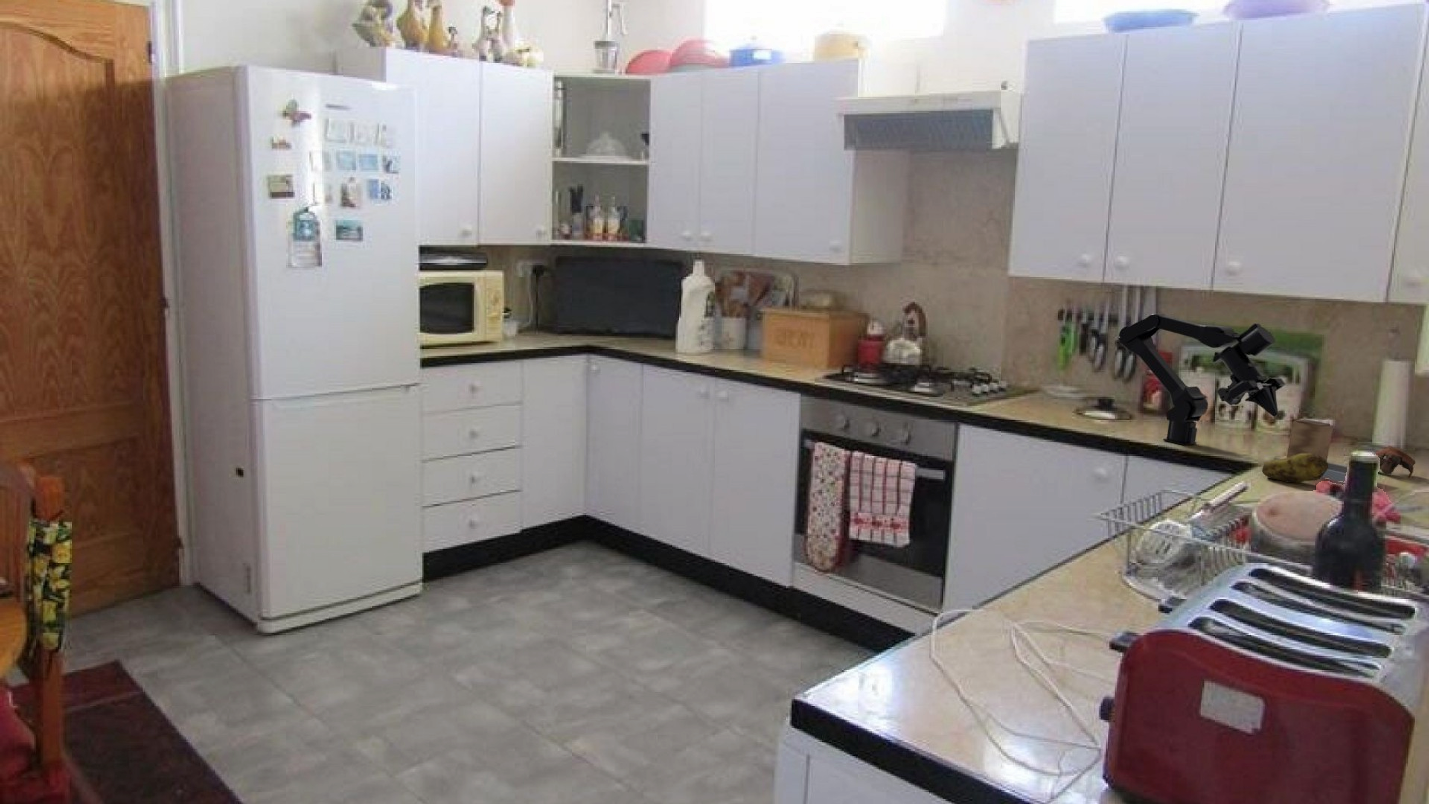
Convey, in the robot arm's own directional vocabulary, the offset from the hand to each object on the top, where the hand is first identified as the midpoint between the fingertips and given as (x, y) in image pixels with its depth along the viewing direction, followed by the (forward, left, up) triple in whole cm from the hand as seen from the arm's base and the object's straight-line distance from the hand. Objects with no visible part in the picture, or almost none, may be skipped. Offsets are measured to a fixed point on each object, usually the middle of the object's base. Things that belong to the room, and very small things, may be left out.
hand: (1276, 415), depth 264 cm
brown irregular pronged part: (+21, +20, -13) cm, 31 cm away
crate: (+9, 0, -12) cm, 15 cm away
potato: (+15, -18, -13) cm, 26 cm away
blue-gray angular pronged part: (+13, 0, -12) cm, 18 cm away
